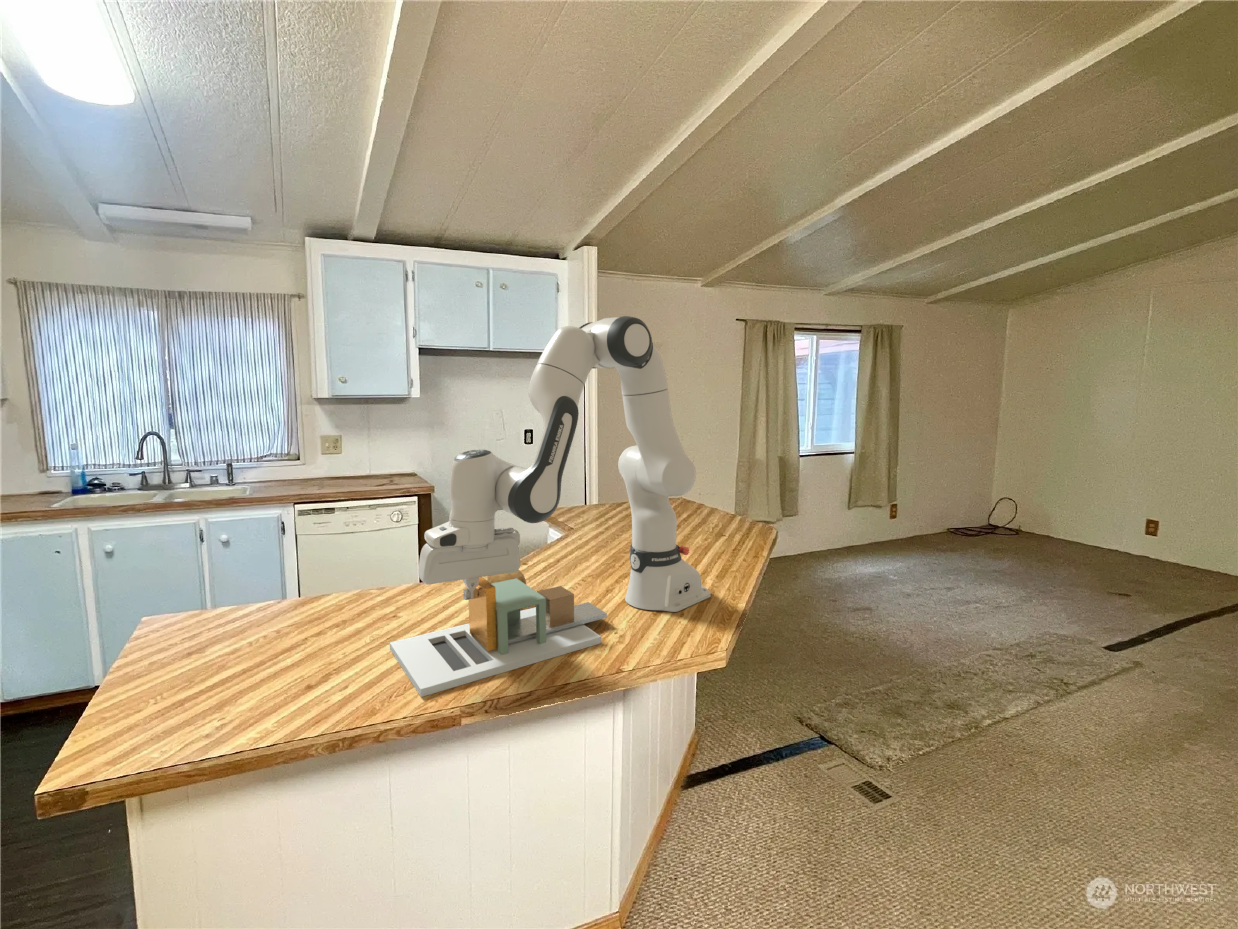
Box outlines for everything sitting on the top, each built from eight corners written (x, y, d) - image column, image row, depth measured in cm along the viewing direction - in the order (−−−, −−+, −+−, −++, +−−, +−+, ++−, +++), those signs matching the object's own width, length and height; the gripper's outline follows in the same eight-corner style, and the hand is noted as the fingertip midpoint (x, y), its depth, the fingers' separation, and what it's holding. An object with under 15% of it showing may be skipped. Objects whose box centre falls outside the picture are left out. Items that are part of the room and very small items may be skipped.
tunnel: (517, 619, 135) (516, 578, 133) (546, 642, 123) (545, 598, 122) (475, 629, 129) (473, 587, 128) (501, 655, 118) (500, 608, 116)
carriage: (586, 604, 143) (586, 551, 140) (609, 619, 134) (609, 563, 132) (469, 634, 126) (467, 574, 124) (487, 652, 118) (485, 589, 116)
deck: (552, 609, 144) (552, 603, 144) (601, 643, 126) (601, 636, 126) (389, 649, 123) (389, 642, 123) (420, 697, 105) (420, 689, 105)
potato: (497, 610, 143) (496, 579, 142) (480, 591, 155) (480, 562, 154) (535, 603, 148) (534, 572, 147) (516, 585, 160) (516, 557, 159)
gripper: (513, 523, 127) (512, 586, 128) (416, 532, 115) (416, 601, 117) (526, 530, 122) (524, 595, 123) (425, 540, 110) (425, 612, 112)
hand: (471, 598), depth 120 cm, fingers closed
